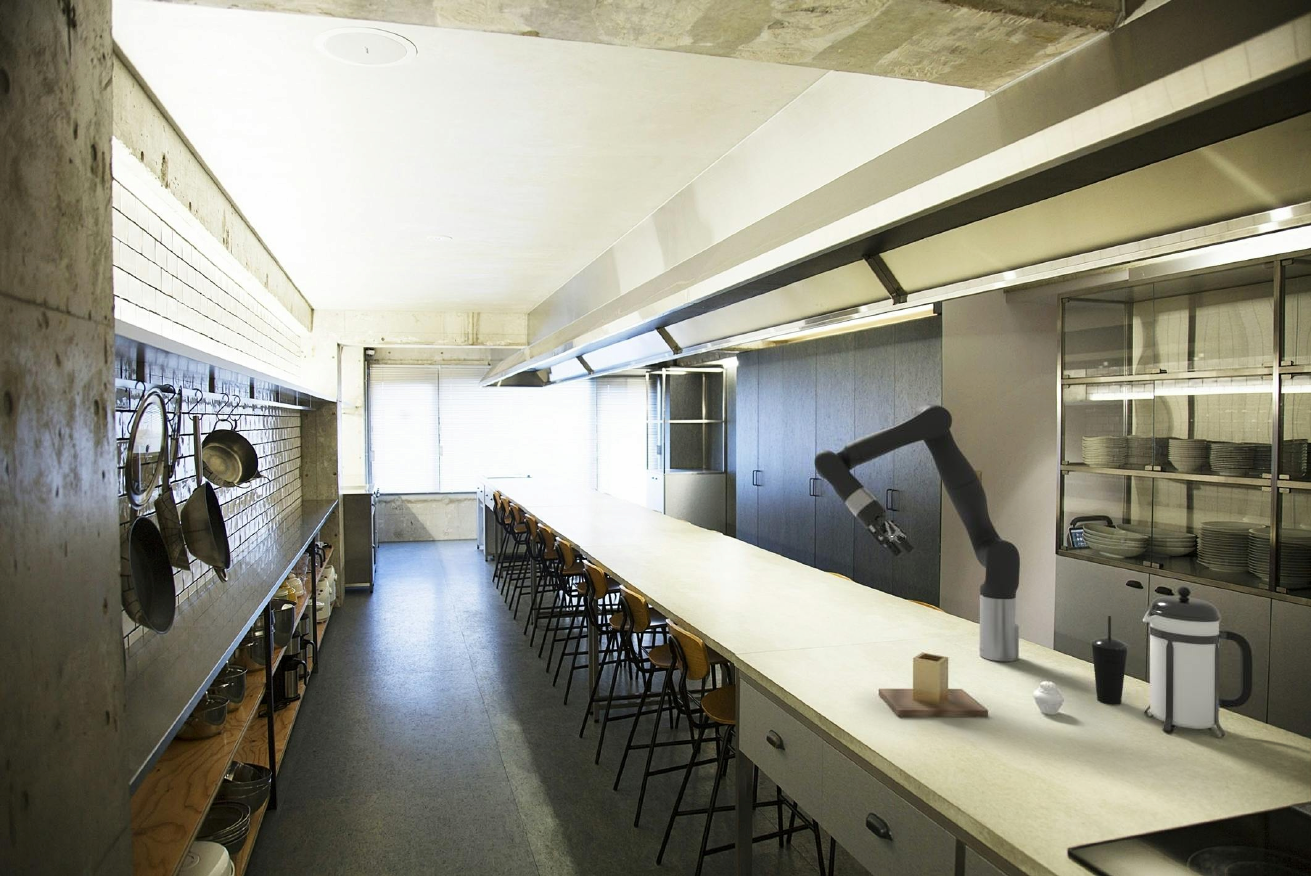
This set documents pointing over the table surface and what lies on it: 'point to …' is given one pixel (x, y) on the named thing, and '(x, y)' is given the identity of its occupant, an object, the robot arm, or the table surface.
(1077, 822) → the table surface
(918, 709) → the post board
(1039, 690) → the muffin
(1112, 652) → the drinking cup
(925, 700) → the wooden sleeve
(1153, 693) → the coffee press
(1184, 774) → the table surface
